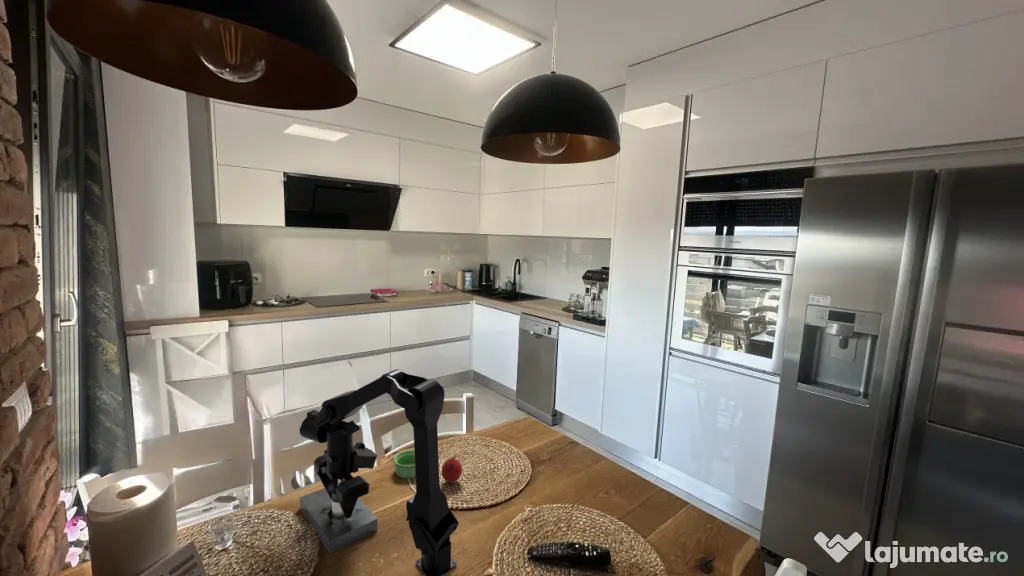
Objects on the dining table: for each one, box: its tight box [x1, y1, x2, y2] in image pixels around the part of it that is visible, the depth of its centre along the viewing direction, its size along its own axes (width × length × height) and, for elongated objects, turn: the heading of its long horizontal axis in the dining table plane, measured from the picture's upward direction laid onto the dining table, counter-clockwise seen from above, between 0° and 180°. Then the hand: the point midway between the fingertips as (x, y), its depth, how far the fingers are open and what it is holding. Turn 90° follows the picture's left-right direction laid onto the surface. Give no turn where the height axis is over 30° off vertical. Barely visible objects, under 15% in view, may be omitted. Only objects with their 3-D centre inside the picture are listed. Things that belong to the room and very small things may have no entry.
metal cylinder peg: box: [332, 490, 346, 520], centre depth 98 cm, size 4×4×8 cm
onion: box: [441, 455, 463, 484], centre depth 116 cm, size 6×6×8 cm
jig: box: [299, 481, 378, 555], centre depth 99 cm, size 20×11×3 cm, turn 44°
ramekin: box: [393, 449, 416, 479], centre depth 121 cm, size 9×9×4 cm
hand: (340, 507), depth 98 cm, fingers open, 9 cm apart
